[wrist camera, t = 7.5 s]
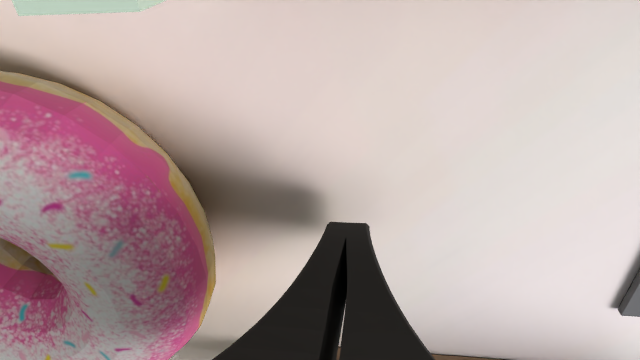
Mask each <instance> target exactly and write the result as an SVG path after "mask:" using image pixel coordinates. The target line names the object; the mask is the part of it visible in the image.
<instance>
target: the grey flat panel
mask: <svg viewBox="0 0 640 360" xmlns="http://www.w3.org/2000/svg"><path fill="white" fill-rule="evenodd" d="M618 311H619V312H620V314H621V316H637V317H640V270H639V272H638V274H637V275H636V277H635V279H634V281H633V283H632V284H631V286H630V288H629V290H628V292H627V294H626V295H625V297H624V299H623V301H622V303H621V305H620V306H619V308H618Z"/></svg>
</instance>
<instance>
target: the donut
mask: <svg viewBox="0 0 640 360" xmlns="http://www.w3.org/2000/svg"><path fill="white" fill-rule="evenodd" d="M215 284H216V274H215V253H214V246H213V240H212V236H211V233H210V229H209V226H208V222H207V219H206V215H205V212H204V210H203V208H202V206H201V204H200V202H199V200H198V198H197V197H196V195H195V193H194V191H193V189H192V187H191V185H190V183H189V182H188V180H187V179H186V178H185V176H184V175H183V174H182V173H181V171H180V170H179V169H178V167H177V166H176V165H175V164H174V162H173V161H172V160H171V158H170V157H169V156H168V154H167V153H166V152H165V151H164V150H163V149H162V148H161V147H159V146H158V145H157V144H156V143H155V142H154V141H153V140H152V139H151V138H150V137H149V136H148V135H146V134H145V133H144V132H143V131H142V130H141V129H140V128H139V127H138V126H137V125H136V124H134V123H133V122H131V121H130V120H128V119H126V118H125V117H123V116H122V115H120V114H119V113H117V112H116V111H114V110H113V109H111V108H110V107H108V106H107V105H105V104H104V103H102V102H101V101H99V100H97V99H94V98H92V97H90V96H87V95H85V94H83V93H81V92H78V91H76V90H74V89H71V88H69V87H67V86H65V85H62V84H60V83H56V82H52V81H48V80H44V79H40V78H36V77H32V76H28V75H24V74H20V73H13V72H4V71H0V360H168V359H169V358H170V357H172V356H173V355H174V354H175V353H176V352H177V351H178V350H180V349H181V348H182V347H183V346H184V345H185V344H186V343H187V342H188V341H189V340H190V338H191V337H192V336H193V335H194V333H195V332H196V331H197V330H198V328H199V327H200V326H201V323H202V321H203V318H204V316H205V313H206V311H207V308H208V306H209V303H210V299H211V296H212V293H213V290H214V287H215Z"/></svg>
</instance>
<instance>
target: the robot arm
mask: <svg viewBox="0 0 640 360" xmlns="http://www.w3.org/2000/svg"><path fill="white" fill-rule="evenodd" d="M345 304H346V307H345ZM344 310H345V316H344ZM343 316H344V325H343V333H342V341H341V349H340V357H339V360H435V359H434V357H433V356H432V355H431V354H430V352H429V351H428V350H427V348H426V347H425V346H424V344H423V343H422V341H421V340H420V339H419V337H418V336H417V334H416V333H415V331H414V330H413V329H412V327H411V326H410V324H409V323H408V321H407V319H406V318H405V316H404V314H403V313H402V311H401V309H400V308H399V306H398V304H397V302H396V300H395V299H394V297H393V295H392V293H391V291H390V289H389V287H388V285H387V282H386V280H385V278H384V276H383V273H382V271H381V268H380V266H379V263H378V261H377V258H376V255H375V252H374V249H373V245H372V241H371V237H370V231H369V226H368V225H367V224H366V223H342V222H330V223H329V224H327V227H326V229H325V232H324V234H323V236H322V238H321V240H320V242H319V243H318V245H317V247H316V249H315V251H314V252H313V254H312V255H311V257H310V259H309V260H308V262H307V264H306V265H305V267H304V268H303V269H302V271H301V272H300V274H299V275H298V276H297V278H296V279H295V281H294V282H293V283H292V285H291V286H290V287H289V288H288V290H287V291H286V292H285V293H284V295H283V296H282V297H281V298H280V299H279V300H278V302H277V303H276V304H275V305H274V306H273V307H272V308H271V309H270V310H269V311H268V312H267V313H266V314H265V315H264V316H263V317H262V318H261V319H260V320H259V321H258V322H257V323H256V324H255V325H254V326H253V327H252V328H251V329H250V330H248V331H247V332H246V333H245V334H244V335H243V336H242V337H240V338H239V339H238V340H237V341H236V342H235V343H233V344H232V345H231V346H230V347H228V348H227V349H226V350H224V351H223V352H222V353H220V354H219V355H218V356H216V357H215V358H214V359H212V360H336V358H337V351H338V345H339V339H340V333H341V327H342V321H343Z"/></svg>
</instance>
